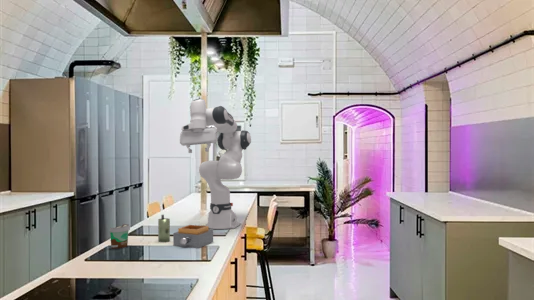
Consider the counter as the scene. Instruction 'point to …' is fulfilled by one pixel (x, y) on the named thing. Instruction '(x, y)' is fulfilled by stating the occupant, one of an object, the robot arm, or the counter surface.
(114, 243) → the food container
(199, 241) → the grey drawer box
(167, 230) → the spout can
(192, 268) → the counter surface
